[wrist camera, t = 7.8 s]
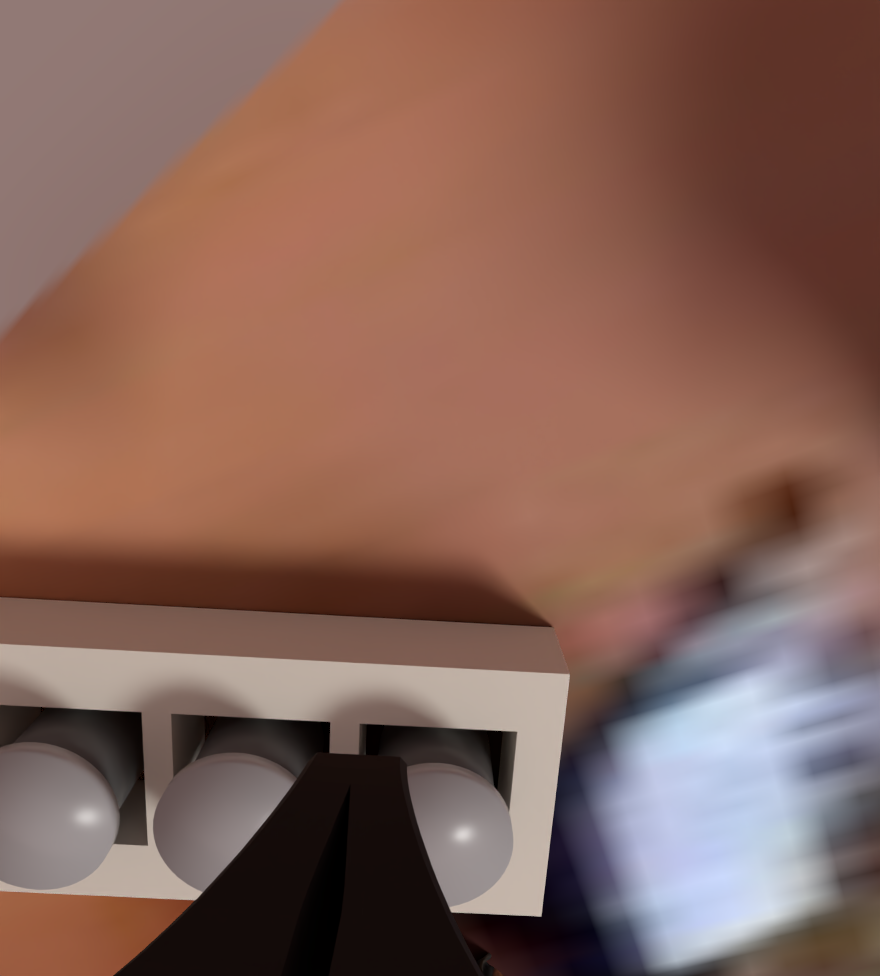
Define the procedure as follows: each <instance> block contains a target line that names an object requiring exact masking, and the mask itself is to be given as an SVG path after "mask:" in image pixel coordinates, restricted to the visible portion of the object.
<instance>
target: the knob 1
mask: <svg viewBox="0 0 880 976" xmlns="http://www.w3.org/2000/svg"><path fill="white" fill-rule="evenodd" d="M143 770H144V754H143V734H142V713H141V712H129V711H109V710H90V709H71V708H51V707H46V708H45V709H44V711H43V712H42V713H41V714H40V715H39V716H38V717H37V718H36V719H35V720H34V721H33V722H32V723H31V724H30V725H29V727H28V728H27V729H26V730H25V731H24V732H23V733H22V734H21V735H20V736H19V737H18V738H17V739H16V740H15V741H14V743H13V744H9V745H5V746H2V747H0V881H2V882H5V883H7V884H10V885H13V886H17V887H21V888H26V889H35V890H50V889H58V888H62V887H67V886H70V885H72V884H75V883H77V882H79V881H81V880H83V879H85V878H86V877H88V876H89V875H91V874H92V873H93V872H94V871H95V870H96V869H97V868H98V867H99V866H100V865H101V863H102V862H103V861H104V859H105V858H106V856H107V854H108V852H109V851H110V849H111V847H112V845H113V844H114V842H115V840H116V837H117V834H118V831H119V825H120V812H119V809H120V808H121V806H122V804H123V803H124V801H125V799H126V798H127V796H128V795H129V793H130V791H131V790H132V788H133V786H134V785H135V783H136V781H137V780H138V778H139V777H140V775H141V773H142V772H143Z"/></svg>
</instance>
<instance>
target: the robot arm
mask: <svg viewBox="0 0 880 976" xmlns="http://www.w3.org/2000/svg"><path fill="white" fill-rule="evenodd" d="M114 976H484V975H483V974H482V972H481V970H480V968H479V966H478V964H477V963H476V961H475V959H474V957H473V955H472V953H471V951H470V949H469V948H468V946H467V944H466V942H465V940H464V938H463V936H462V934H461V932H460V930H459V928H458V925H457V923H456V921H455V919H454V917H453V915H452V913H451V910H450V908H449V906H448V904H447V901H446V899H445V897H444V894H443V892H442V890H441V888H440V885H439V883H438V880H437V878H436V875H435V873H434V870H433V867H432V865H431V862H430V859H429V856H428V853H427V850H426V848H425V845H424V842H423V839H422V836H421V833H420V830H419V827H418V823H417V820H416V816H415V812H414V808H413V805H412V801H411V796H410V791H409V785H408V776H407V763H406V762H405V761H404V760H403V759H402V758H401V757H396V756H377V755H358V754H339V753H320V752H318V753H316V754H315V755H314V756H313V757H312V758H310V759H309V761H308V763H307V764H306V766H305V767H304V769H303V770H302V772H301V773H300V775H299V776H298V778H297V779H296V781H295V782H294V784H293V785H292V786H291V788H290V789H289V791H288V792H287V793H286V795H285V796H284V797H283V799H282V800H281V801H280V803H279V804H278V805H277V807H276V808H275V809H274V811H273V812H272V813H271V814H270V816H269V817H268V818H267V819H266V821H265V822H264V823H263V824H262V825H261V827H260V828H259V829H258V830H257V832H256V833H255V834H254V835H253V836H252V838H251V839H250V840H249V841H248V843H247V844H246V845H245V846H244V847H243V849H242V850H241V851H240V852H239V853H238V854H237V856H236V857H235V858H234V859H233V860H232V861H231V862H230V863H229V864H228V865H227V867H226V868H225V869H224V870H223V871H222V872H221V873H220V874H219V875H218V876H217V877H216V879H215V880H214V881H213V882H212V883H211V884H210V885H209V886H208V887H207V888H206V889H205V891H204V892H203V893H202V894H201V895H200V896H199V897H198V898H197V899H196V900H195V901H194V902H193V903H192V904H191V905H190V906H189V907H188V908H187V909H186V910H185V911H184V912H183V913H182V914H181V915H180V916H179V917H178V918H177V919H176V920H175V921H174V922H173V923H172V924H171V925H170V926H169V927H168V928H167V929H165V930H164V931H163V932H162V933H161V934H160V935H159V936H158V937H157V938H156V939H155V940H154V941H152V942H151V943H150V944H149V945H148V946H147V947H146V948H145V949H144V950H143V951H142V952H140V953H139V954H138V955H137V956H136V957H135V958H134V959H132V960H131V961H130V962H129V963H128V964H127V965H125V966H124V967H123V968H122V969H121V970H119V971H118V972H117V973H116V974H115V975H114Z"/></svg>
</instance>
